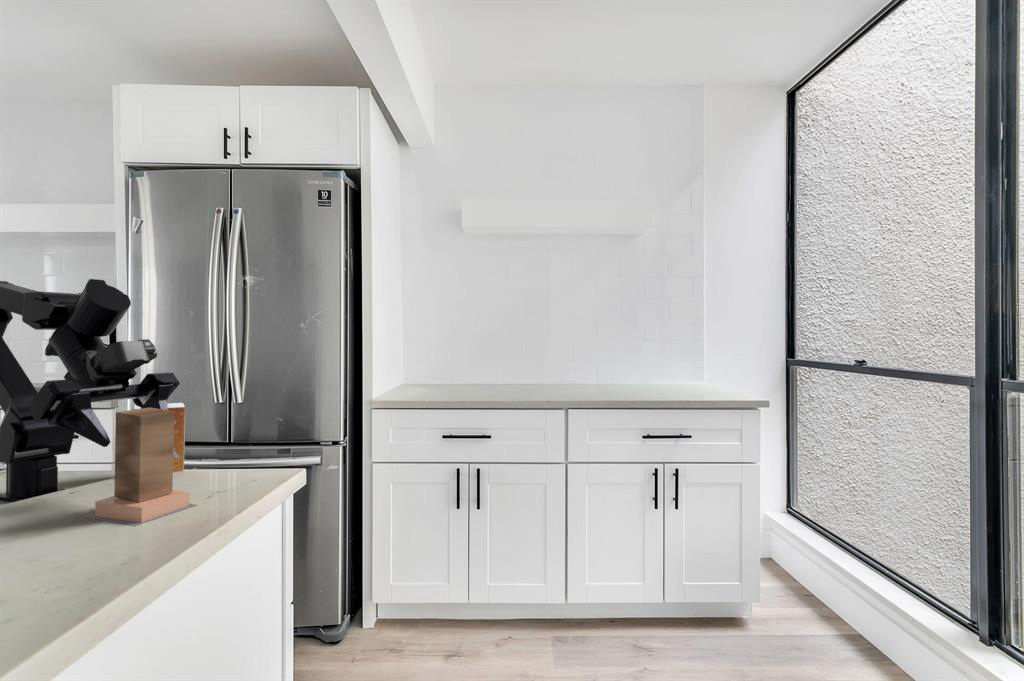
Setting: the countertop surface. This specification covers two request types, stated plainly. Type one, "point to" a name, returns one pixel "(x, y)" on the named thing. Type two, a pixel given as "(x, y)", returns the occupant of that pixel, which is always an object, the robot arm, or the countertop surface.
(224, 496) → the countertop surface
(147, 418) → the walnut pillar
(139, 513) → the terracotta tile
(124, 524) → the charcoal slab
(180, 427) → the small box
